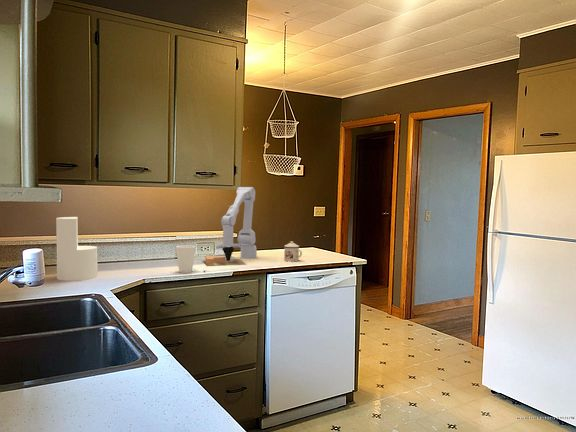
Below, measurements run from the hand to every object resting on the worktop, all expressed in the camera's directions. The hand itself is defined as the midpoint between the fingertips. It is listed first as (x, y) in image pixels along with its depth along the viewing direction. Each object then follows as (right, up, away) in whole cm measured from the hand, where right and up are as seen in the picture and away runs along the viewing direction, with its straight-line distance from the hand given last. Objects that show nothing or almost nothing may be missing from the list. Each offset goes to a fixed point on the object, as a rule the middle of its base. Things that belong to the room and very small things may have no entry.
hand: (228, 260), depth 252 cm
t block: (-7, -1, -1) cm, 7 cm away
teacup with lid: (+37, -2, +16) cm, 41 cm away
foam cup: (-18, -4, -24) cm, 31 cm away
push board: (-2, -2, -1) cm, 3 cm away
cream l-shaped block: (-65, -4, -42) cm, 78 cm away
